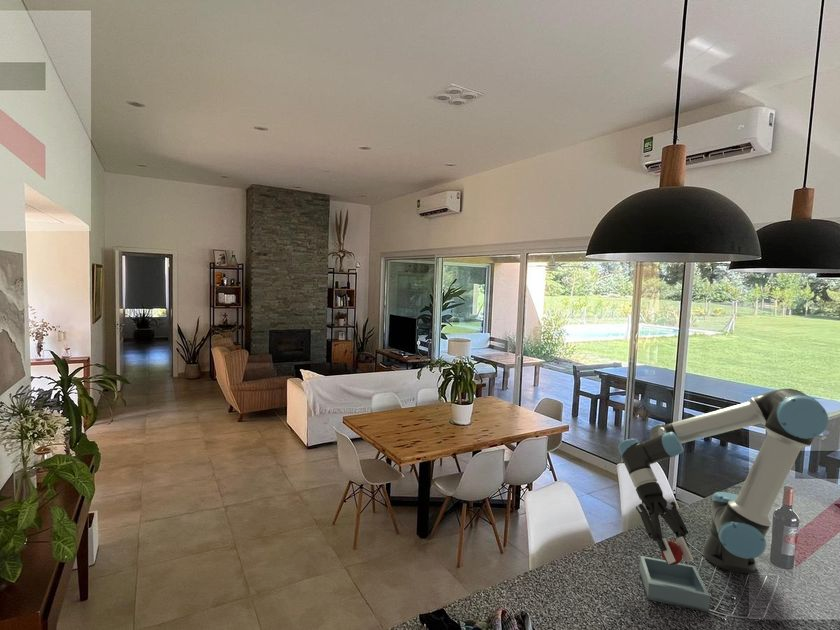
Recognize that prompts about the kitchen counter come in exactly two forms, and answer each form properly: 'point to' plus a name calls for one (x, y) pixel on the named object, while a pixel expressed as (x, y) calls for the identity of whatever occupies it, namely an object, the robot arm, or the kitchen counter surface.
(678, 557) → the onion
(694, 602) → the bin
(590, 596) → the kitchen counter surface
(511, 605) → the kitchen counter surface
